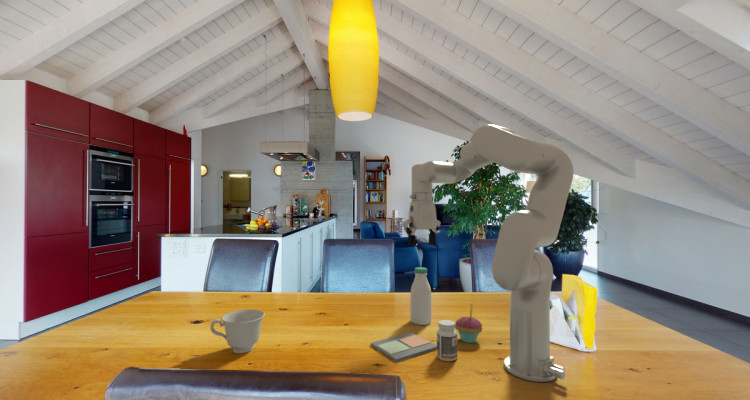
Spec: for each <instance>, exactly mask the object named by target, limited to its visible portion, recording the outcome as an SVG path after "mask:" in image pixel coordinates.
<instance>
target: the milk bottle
mask: <svg viewBox="0 0 750 400" xmlns="http://www.w3.org/2000/svg"><path fill="white" fill-rule="evenodd" d="M414 275H415V276H414V280H413V282H412V284H411V287H410V301H409V302H410V310H409V311H410V316H409V317H410V319H409V320H410V322H411V323H412V324H414V325H417V326H427V325H430V324H431V323H432V289H431V285H430V283H429V281H428V278H427V275H428V268H427V267H424V266H423V267H419V266H418V267H415V268H414Z"/></svg>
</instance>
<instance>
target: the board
mask: <svg viewBox="0 0 750 400" xmlns="http://www.w3.org/2000/svg"><path fill="white" fill-rule="evenodd" d="M370 346H371V347H372V348H374V349H375V350H377V351H379V352H380V353H382V354H383V355H384V356H386V357H387V358H389V359H390V360H392V361H393V362H395V363H398V362H401V361H404V360H407V359H411V358H414V357H416V356H419V355H423V354H427V353H429V352H432V351H437V344H435V343H433V342H431V341H429V340H427V339H426V338H423V337H421V336H420V335H417V334H415V333H413V332H407V333H403V334H398V335H396V336H392V337H388V338H384V339H380V340H376V341H373V342H370Z"/></svg>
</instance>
